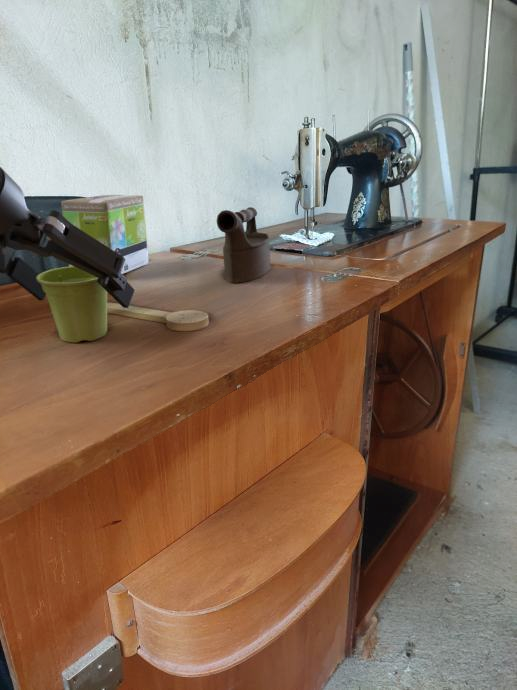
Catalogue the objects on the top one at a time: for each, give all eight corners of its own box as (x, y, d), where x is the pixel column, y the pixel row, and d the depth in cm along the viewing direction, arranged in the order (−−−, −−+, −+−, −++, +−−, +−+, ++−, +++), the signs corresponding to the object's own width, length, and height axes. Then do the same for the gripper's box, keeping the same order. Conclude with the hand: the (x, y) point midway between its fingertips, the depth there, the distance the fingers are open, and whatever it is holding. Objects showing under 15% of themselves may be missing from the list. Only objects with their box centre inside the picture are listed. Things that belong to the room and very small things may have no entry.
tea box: (115, 280, 99) (105, 200, 94) (69, 278, 102) (57, 200, 96) (150, 263, 113) (143, 193, 107) (109, 262, 115) (100, 193, 110)
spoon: (77, 312, 80) (76, 305, 80) (105, 302, 85) (104, 295, 85) (192, 333, 70) (191, 325, 70) (216, 321, 75) (216, 313, 74)
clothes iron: (206, 286, 93) (202, 210, 89) (235, 266, 108) (232, 200, 103) (248, 288, 91) (246, 210, 86) (272, 268, 106) (270, 200, 101)
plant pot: (133, 329, 72) (126, 268, 69) (86, 352, 65) (76, 285, 61) (82, 321, 76) (73, 263, 73) (32, 342, 68) (19, 278, 65)
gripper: (-139, 216, 54) (2, 312, 72) (57, 221, 46) (158, 328, 64) (-105, 160, 56) (22, 266, 75) (86, 156, 48) (175, 276, 67)
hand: (85, 295), depth 70 cm, fingers open, 13 cm apart
